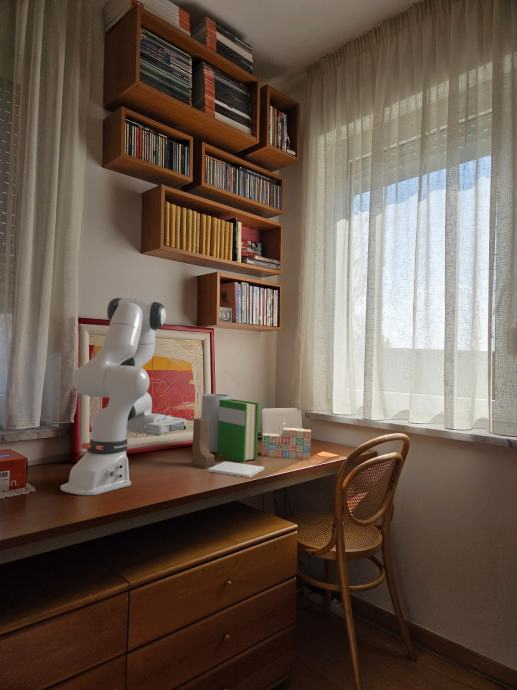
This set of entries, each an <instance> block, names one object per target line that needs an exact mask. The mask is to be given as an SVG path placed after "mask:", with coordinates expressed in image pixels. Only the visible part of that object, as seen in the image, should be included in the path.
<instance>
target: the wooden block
mask: <svg viewBox="0 0 517 690" xmlns="http://www.w3.org/2000/svg"><path fill="white" fill-rule="evenodd" d="M192 429H193V431H192V433H193V434H192V452H191V453H192V454H191V455H192V456H191V464H192V465H194V466H197V467H200V468H203V469H209V468H211V467H213V466H215V460H216V459H215V457H216V456H215V455H214V454H212V452H210V451H209V449H208V430H209V419H204V418H200V417H199V418H198V417H197V418H194V419H193V428H192Z"/></svg>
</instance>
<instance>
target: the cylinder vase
mask: <svg viewBox="0 0 517 690" xmlns="http://www.w3.org/2000/svg"><path fill="white" fill-rule="evenodd" d="M225 399H230V395H229V394H224V393H223V394H222V393H205V394H202V395H201V416H200V417H201V418H204V419H209V430H208V449H209V451H210V453H217V451H218V425H219V400H225Z"/></svg>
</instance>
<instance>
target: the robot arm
mask: <svg viewBox="0 0 517 690" xmlns="http://www.w3.org/2000/svg"><path fill="white" fill-rule="evenodd" d="M106 309H107V310H106V314H107V319H108V321H109V326H108V329H107V332H106V336H105V339H104V341H103V344H102V346H101V348H100V349H99V351H98V352H97V353H96V355H94V356H93V358H91V359H90V360H89V361H88V362H86V363H85V364H83V365H81V366H80V367H78V368H77V369H76V370H75V372H74V374H73V377H72V384H73V387H74V389H75V391H76V393H79V394H81V395H84V396H87V397H90V398H91V397H93V398H94V397H95V398H109V399H108V403H107V406H106V407H103V408H102V409H100V410H97V411H96V413H95V414H94V416H93V417H92V421H91V422H92V424H91V439H90V440H89V442H82V444H81V449H83V450H86V453H85V454H84V455H83V456H82V457H81V458H80V459H79V460H78V461H77V463H76V464H75V465H73V467H71V470H70V473H69V477H68V482H66V483H64V484H62V485H60V491H63V492H65V493H68V494H75V495H79V496H96V495H100V494H103V493H107V492H110V491H114V490H118V489H121V488H125V487H129V486H131V485H132V481H131V480H130V475H129V474H130V473H129V472H130V471H129V458H128V456H127V450H128V446H129V445H128V444H129V443H128V437H127V432H129V433H132V434H133V433H134V434H138V435H139V434H145V435H148V436H149V435H150V436H156V437H159V436H161V435H164V434H167V433H171V432H175V431H184V430H188V429H187V428H188V420H187V419H186V418H183V417H175V416H172V415H171V414H161V413H152V412H153V397H152V395H151V394H150V393H149V392H148V390H149V389H150V381H151V380H150V377H149V376H150V375H149V374H148V372H147V371H146V370H145V369H144V368H143V367H144V366H145V365H146V364H147V363H149V362H150V361H151V360H152V358H153V357H154V354H155V348H156V331H157V330H159V329H160V328H162V327H163V326H164V323H165V322H166V319H167V312H166V308H165V306H164V305H163V303H161V302H158V301H151V300H146V299H145V300H144V299H139V298H122V297H116V298H115V297H114V298H112V299H111V300H110V301H109V303H108V306H107V308H106ZM127 430H128V431H127Z"/></svg>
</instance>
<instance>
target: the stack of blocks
mask: <svg viewBox="0 0 517 690" xmlns="http://www.w3.org/2000/svg"><path fill="white" fill-rule="evenodd" d="M311 443H312V430H311V429H308V428H307V429H306V428H302V427H301V428H298V427H295V428H294V427H283V428H282V433H269V432H268V433H267V432H263V433H262V434H261V452H260V453H261V457H270V458H282V459H283V458H284V459H299V460H309V459H311Z"/></svg>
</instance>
